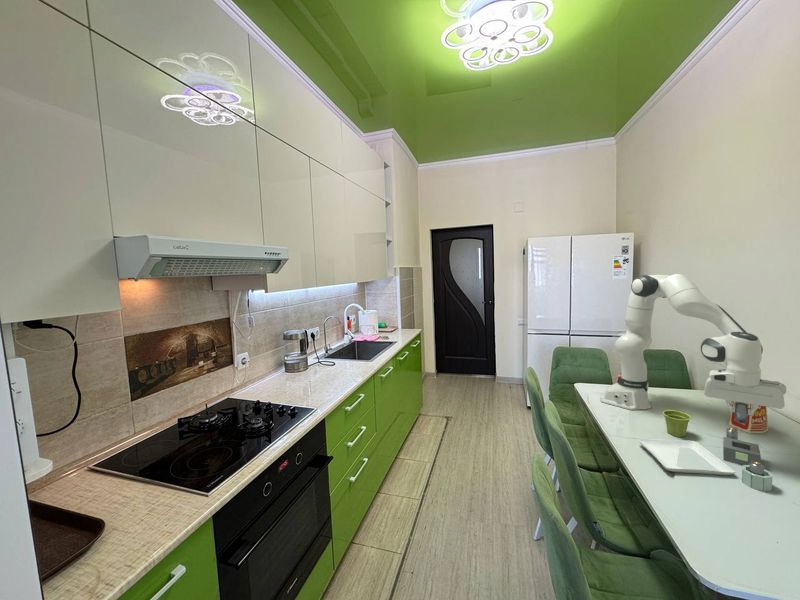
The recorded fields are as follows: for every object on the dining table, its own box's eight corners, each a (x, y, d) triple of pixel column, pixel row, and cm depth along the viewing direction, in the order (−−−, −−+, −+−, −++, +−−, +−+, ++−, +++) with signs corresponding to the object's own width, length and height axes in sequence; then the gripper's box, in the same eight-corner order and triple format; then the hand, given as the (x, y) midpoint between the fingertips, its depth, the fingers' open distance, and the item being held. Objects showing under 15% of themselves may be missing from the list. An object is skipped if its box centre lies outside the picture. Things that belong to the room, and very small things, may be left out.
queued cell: (726, 446, 130) (726, 428, 129) (726, 443, 132) (726, 425, 131) (737, 449, 128) (738, 431, 127) (737, 446, 130) (737, 428, 129)
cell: (734, 418, 122) (735, 399, 121) (747, 421, 119) (747, 401, 119) (734, 421, 119) (735, 402, 119) (747, 424, 117) (748, 404, 116)
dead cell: (749, 484, 107) (750, 463, 106) (748, 479, 109) (749, 458, 109) (764, 488, 105) (764, 466, 104) (763, 483, 107) (763, 462, 106)
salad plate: (694, 447, 131) (694, 439, 131) (737, 481, 111) (737, 471, 110) (636, 445, 136) (636, 437, 136) (666, 477, 115) (666, 468, 115)
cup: (742, 487, 107) (742, 472, 107) (741, 477, 112) (741, 462, 111) (772, 496, 102) (773, 480, 102) (770, 485, 107) (770, 470, 107)
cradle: (723, 462, 120) (723, 447, 120) (723, 451, 127) (723, 436, 127) (760, 472, 114) (760, 456, 113) (757, 459, 121) (758, 444, 120)
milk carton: (728, 424, 146) (729, 381, 144) (747, 422, 147) (748, 379, 145) (752, 434, 137) (753, 389, 135) (771, 432, 138) (773, 387, 136)
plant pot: (686, 430, 144) (686, 411, 143) (694, 440, 135) (694, 421, 135) (659, 427, 148) (659, 409, 147) (666, 437, 139) (666, 418, 139)
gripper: (785, 380, 113) (783, 417, 114) (704, 370, 127) (704, 403, 128) (788, 385, 108) (786, 424, 110) (704, 374, 123) (703, 409, 124)
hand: (741, 413), depth 119 cm, fingers closed on cell, 3 cm apart
